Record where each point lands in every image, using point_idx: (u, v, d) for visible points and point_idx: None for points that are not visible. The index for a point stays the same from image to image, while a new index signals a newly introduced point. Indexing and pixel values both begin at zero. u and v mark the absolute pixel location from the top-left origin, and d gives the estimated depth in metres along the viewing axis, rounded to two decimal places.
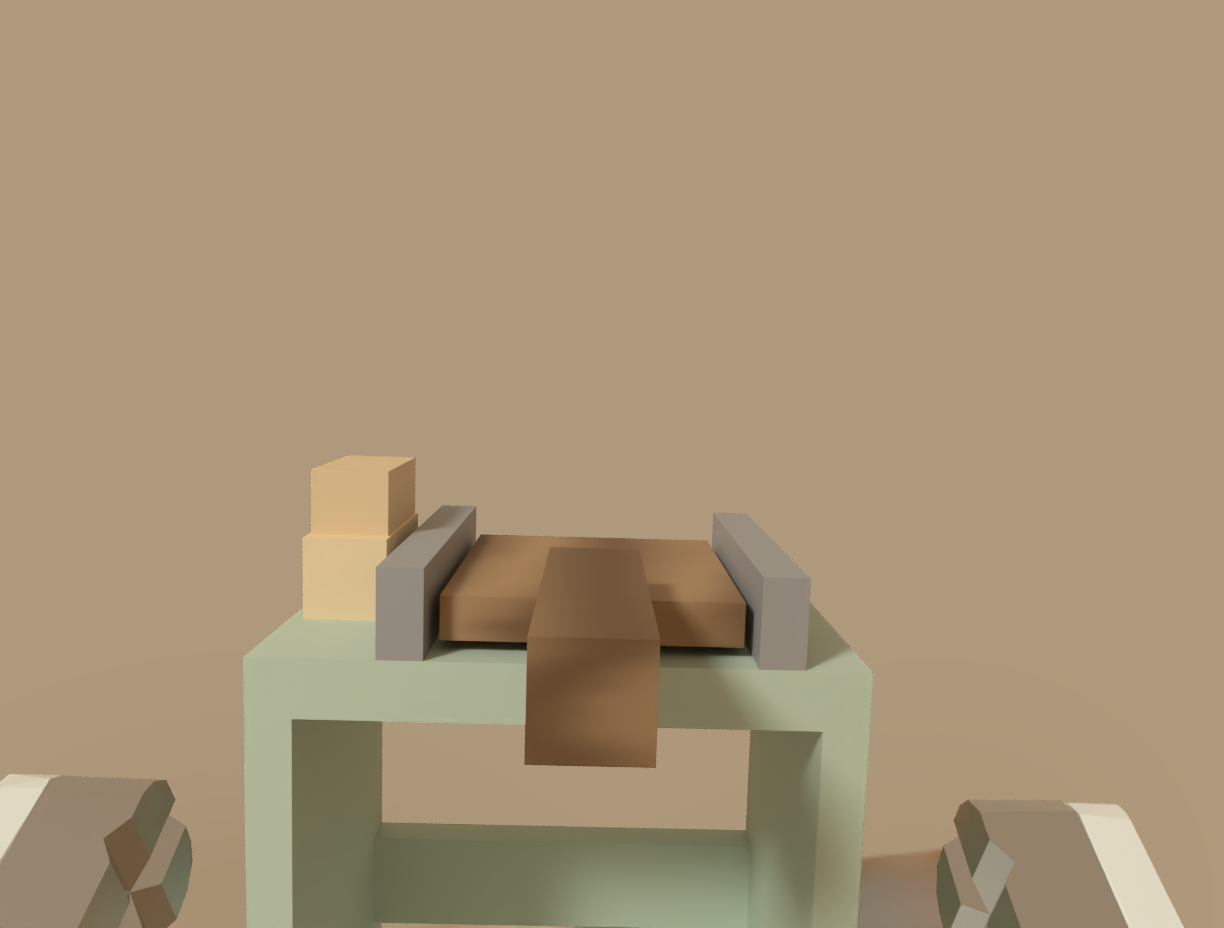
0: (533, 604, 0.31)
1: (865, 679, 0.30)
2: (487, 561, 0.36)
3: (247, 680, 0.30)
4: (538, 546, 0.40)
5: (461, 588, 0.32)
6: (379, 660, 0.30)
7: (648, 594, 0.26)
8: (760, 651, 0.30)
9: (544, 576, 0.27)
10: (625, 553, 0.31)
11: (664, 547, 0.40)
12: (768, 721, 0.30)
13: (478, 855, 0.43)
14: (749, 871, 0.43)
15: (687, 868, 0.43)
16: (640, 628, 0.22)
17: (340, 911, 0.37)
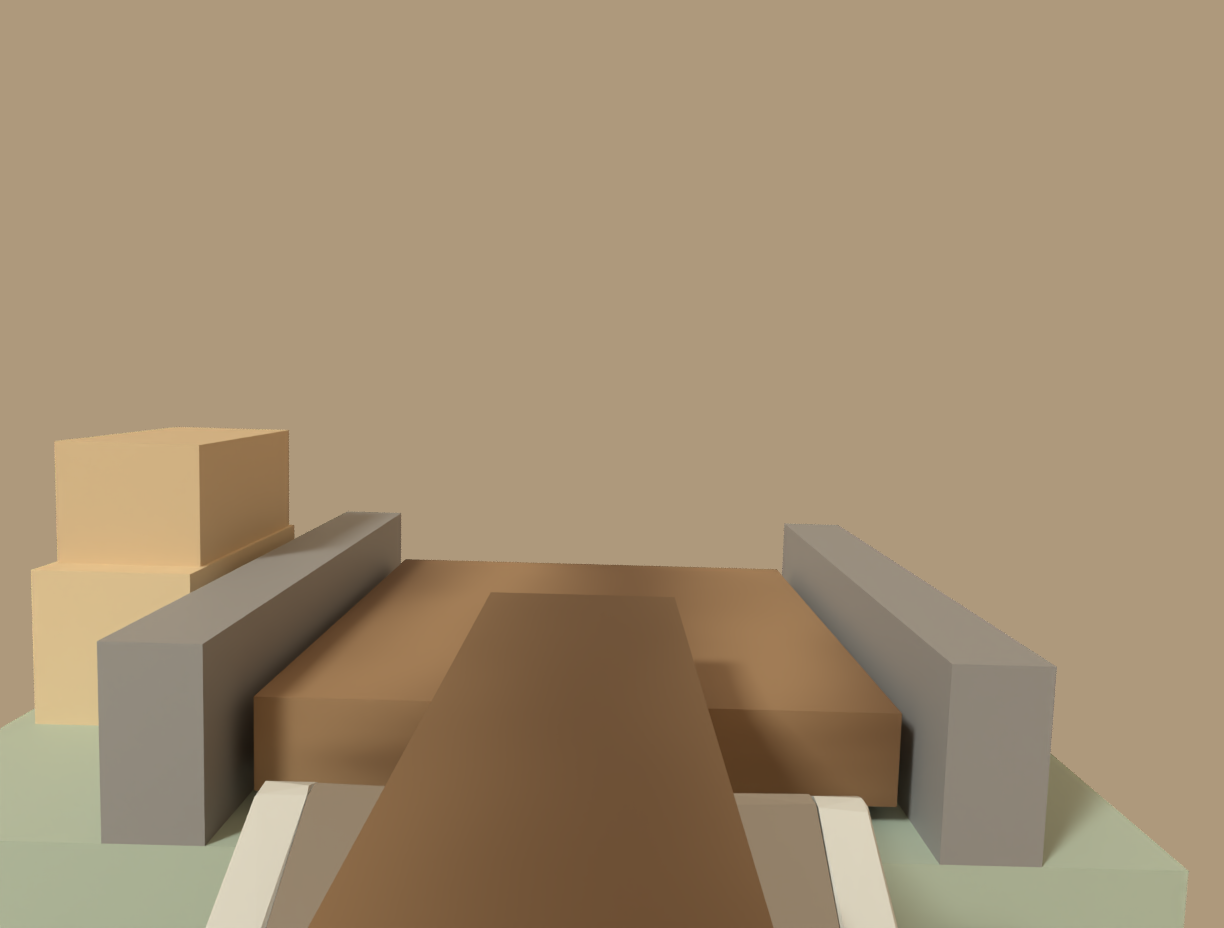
0: None
1: (1171, 885, 0.14)
2: (393, 611, 0.20)
3: None
4: (494, 580, 0.23)
5: (310, 677, 0.16)
6: (110, 843, 0.14)
7: (715, 746, 0.09)
8: (942, 825, 0.14)
9: (448, 678, 0.11)
10: (646, 607, 0.15)
11: (708, 582, 0.24)
12: None
13: None
14: None
15: None
16: None
17: None
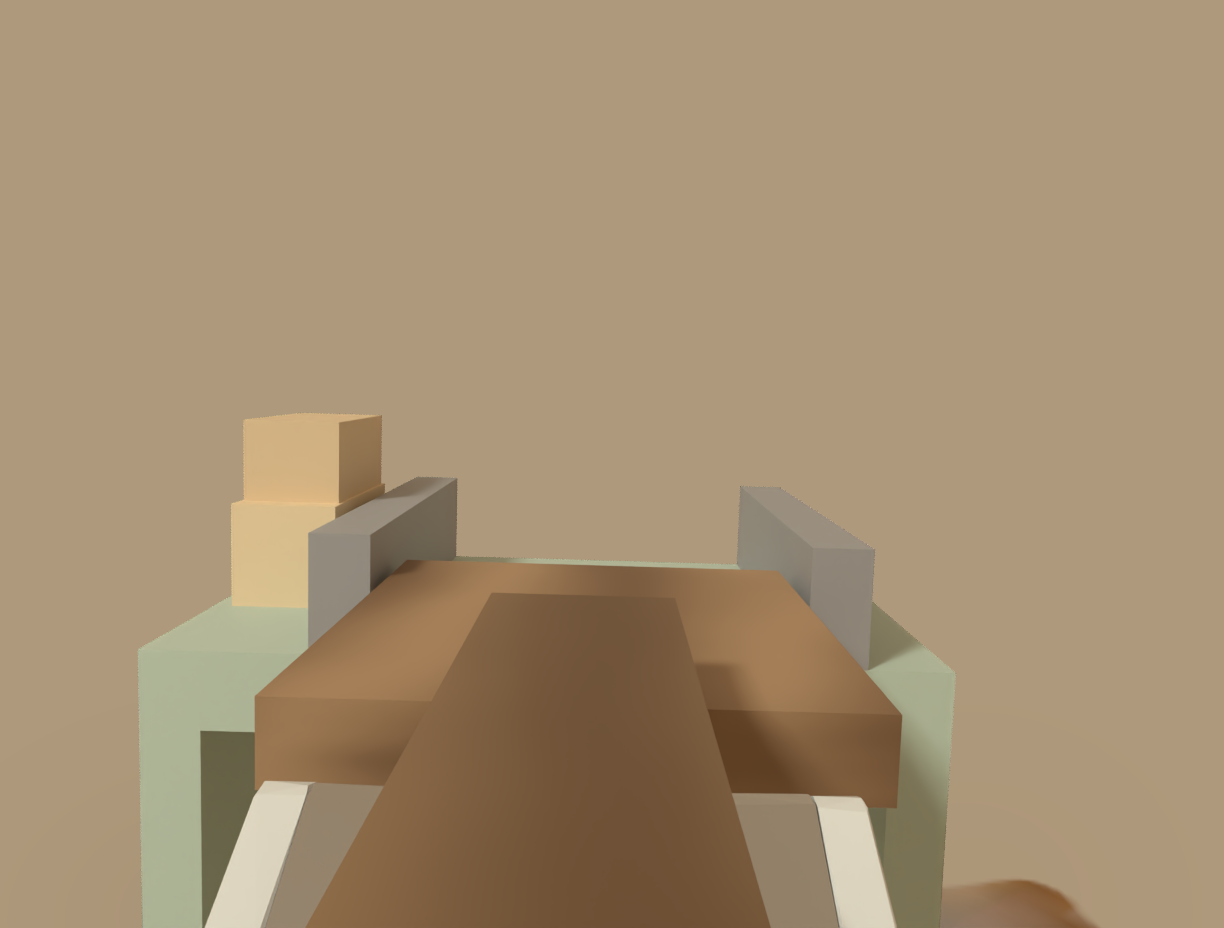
0: None
1: (945, 682, 0.23)
2: (394, 611, 0.20)
3: (143, 680, 0.23)
4: (496, 581, 0.23)
5: (311, 677, 0.16)
6: None
7: (714, 746, 0.09)
8: None
9: (448, 678, 0.11)
10: (646, 608, 0.15)
11: (709, 583, 0.24)
12: None
13: None
14: None
15: None
16: None
17: None
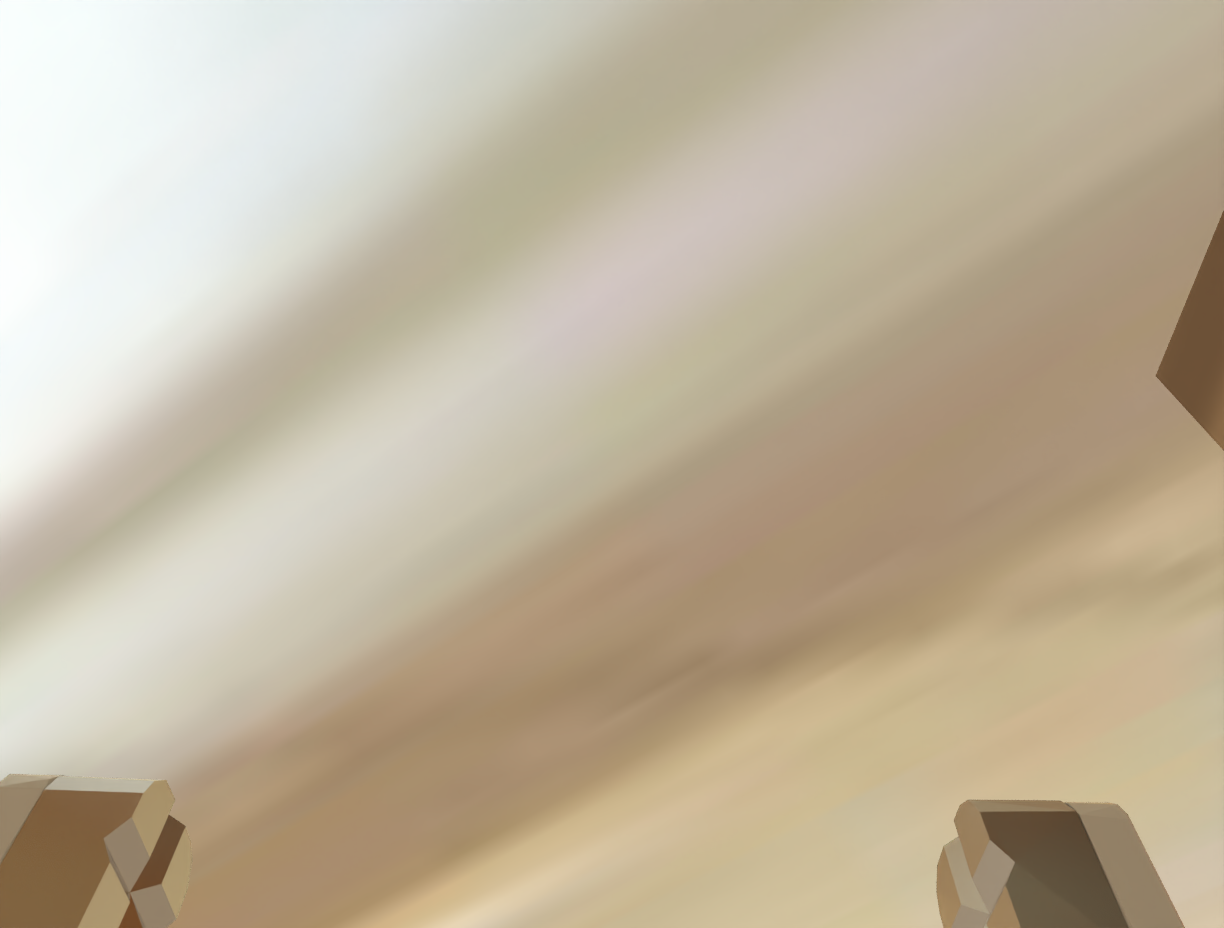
0: None
1: None
2: None
3: None
4: None
5: None
6: None
7: None
8: None
9: None
10: None
11: None
12: None
13: None
14: None
15: None
16: None
17: None
